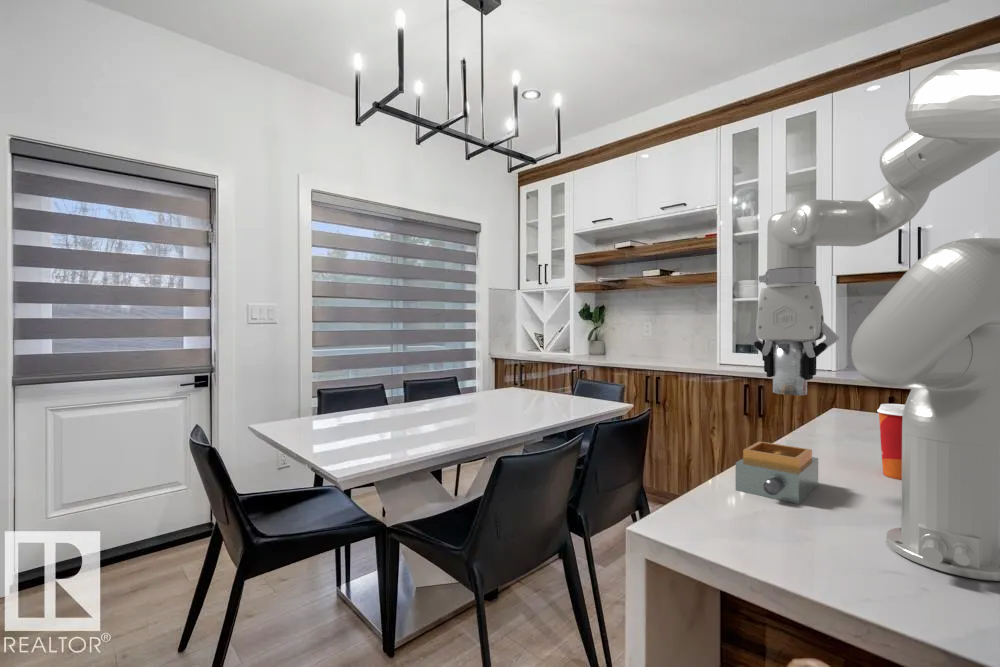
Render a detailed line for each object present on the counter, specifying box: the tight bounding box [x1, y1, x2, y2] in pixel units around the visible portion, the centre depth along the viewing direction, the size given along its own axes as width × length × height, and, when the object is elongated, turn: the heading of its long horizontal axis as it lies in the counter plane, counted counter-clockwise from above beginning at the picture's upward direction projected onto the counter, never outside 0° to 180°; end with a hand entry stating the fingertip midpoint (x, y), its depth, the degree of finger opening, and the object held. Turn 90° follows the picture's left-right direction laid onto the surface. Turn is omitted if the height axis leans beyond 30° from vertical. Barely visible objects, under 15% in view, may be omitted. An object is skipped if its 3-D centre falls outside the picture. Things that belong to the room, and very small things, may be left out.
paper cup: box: [876, 403, 905, 481], centre depth 93 cm, size 8×8×14 cm
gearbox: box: [735, 441, 819, 505], centre depth 87 cm, size 16×10×7 cm, turn 135°
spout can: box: [772, 340, 808, 396], centre depth 87 cm, size 7×5×11 cm
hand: (789, 376), depth 87 cm, fingers closed on spout can, 5 cm apart
